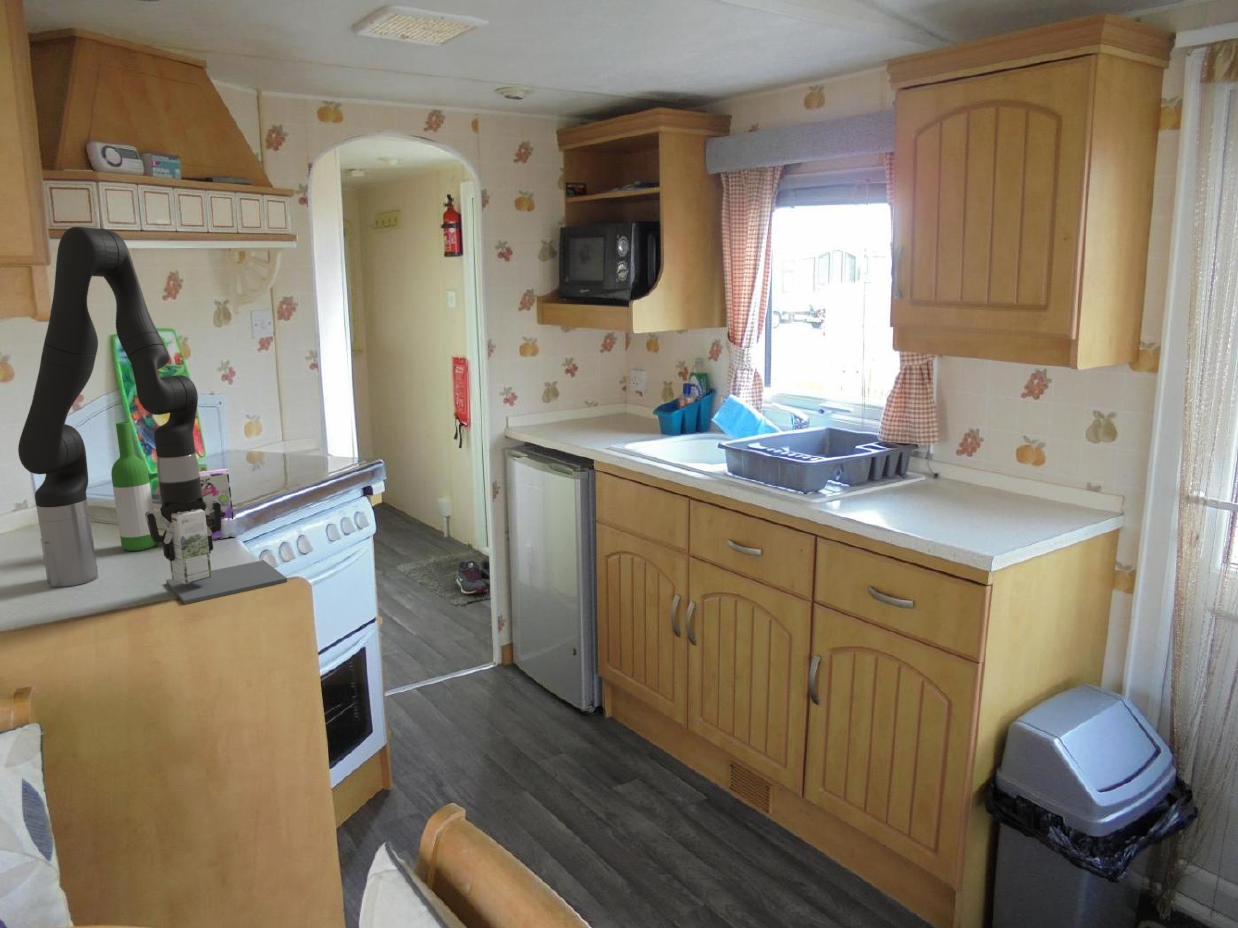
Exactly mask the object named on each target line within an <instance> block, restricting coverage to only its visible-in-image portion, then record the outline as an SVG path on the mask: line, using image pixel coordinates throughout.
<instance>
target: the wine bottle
mask: <svg viewBox="0 0 1238 928" xmlns="http://www.w3.org/2000/svg"><path fill="white" fill-rule="evenodd" d="M115 426H116V427H115V428H116V435H117V441H118V442H117V443H118V451H119V458H118V459H117V460H115V462H114V463H113V465H112V467H111V475H110V477H111V481H112V490H113V496H114V502H115V509H116V517H117V523H118V531H119V537H120V538H119V539H120V545H121V548H122V549H123V550H124V551H128V552H139V551H144V550H145V551H146V550H148V549H152V548H154V547H156V545H157V543H158V542H154V541H153V540H152V539H151V535H150V531H149V527H148V524H147V520H146V516H145V514H146V512H155V511H154V504H153V497H152V489H151V482H150V477H149V470H148V469H149V468H148V466H147V464H146V463H145V462H144V461H143V460H142V458H140V457H138V456H137V455H135V454H136V453H135V449H134V441H133V436H132V430H131V422H129V421H120V422H119V421H118V422H116V423H115Z"/></svg>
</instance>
